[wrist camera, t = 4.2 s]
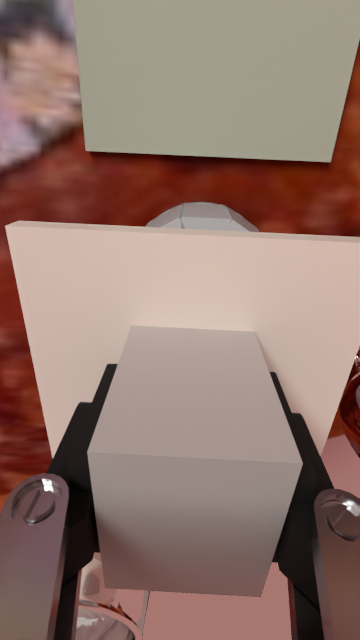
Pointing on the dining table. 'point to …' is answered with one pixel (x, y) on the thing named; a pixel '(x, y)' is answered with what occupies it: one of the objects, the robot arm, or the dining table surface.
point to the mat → (215, 76)
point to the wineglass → (352, 409)
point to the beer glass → (108, 608)
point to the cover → (189, 383)
